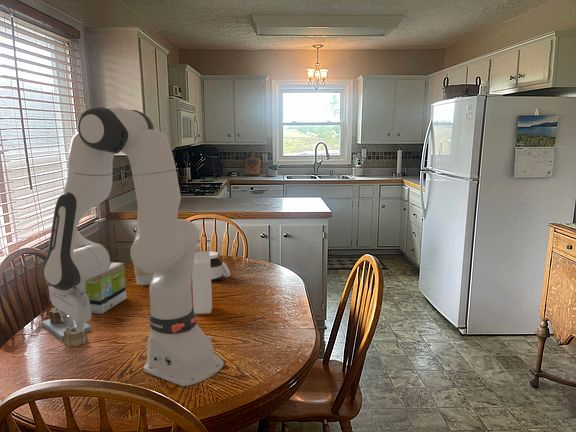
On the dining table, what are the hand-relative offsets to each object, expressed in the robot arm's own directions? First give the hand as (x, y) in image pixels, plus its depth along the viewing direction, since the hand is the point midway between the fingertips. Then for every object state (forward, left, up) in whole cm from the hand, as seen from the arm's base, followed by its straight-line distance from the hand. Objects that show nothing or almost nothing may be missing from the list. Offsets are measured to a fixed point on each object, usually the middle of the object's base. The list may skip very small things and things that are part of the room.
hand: (72, 326), depth 127 cm
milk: (-12, -41, -5) cm, 43 cm away
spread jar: (+11, -66, -5) cm, 67 cm away
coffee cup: (+30, -43, -5) cm, 52 cm away
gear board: (+11, -3, -5) cm, 13 cm away
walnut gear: (+15, -3, -4) cm, 16 cm away
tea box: (+20, -20, -5) cm, 29 cm away
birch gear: (-1, -1, -5) cm, 5 cm away
